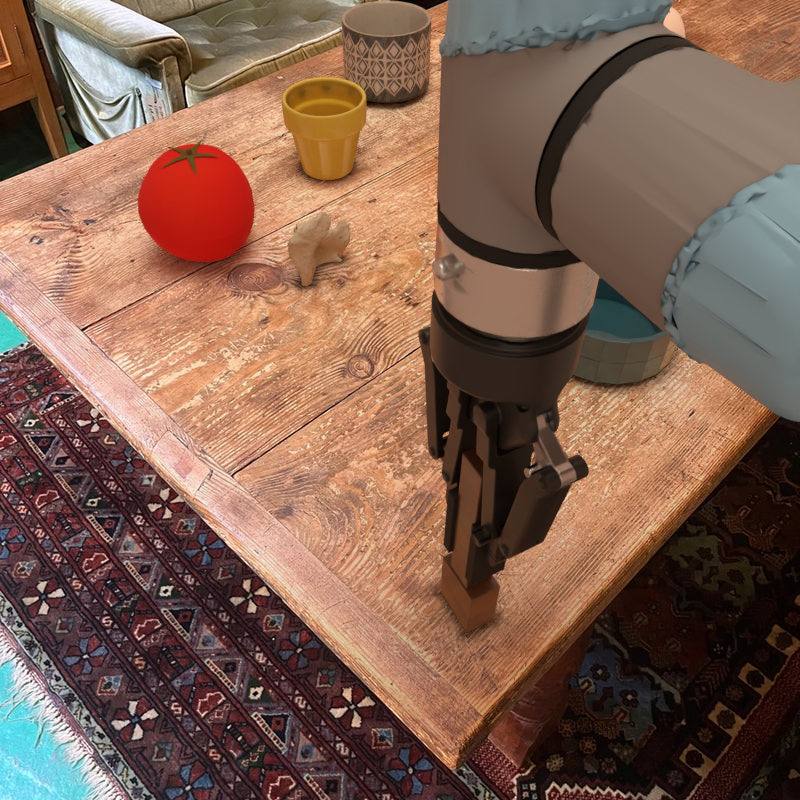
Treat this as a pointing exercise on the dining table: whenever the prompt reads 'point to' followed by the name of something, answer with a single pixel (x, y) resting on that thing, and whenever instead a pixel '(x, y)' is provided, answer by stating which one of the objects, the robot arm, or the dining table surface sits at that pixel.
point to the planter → (387, 49)
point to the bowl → (621, 341)
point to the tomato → (196, 203)
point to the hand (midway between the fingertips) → (473, 556)
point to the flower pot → (325, 124)
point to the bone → (317, 244)
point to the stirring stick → (481, 597)
